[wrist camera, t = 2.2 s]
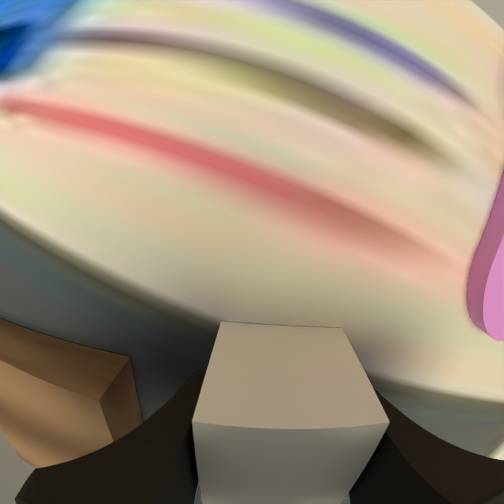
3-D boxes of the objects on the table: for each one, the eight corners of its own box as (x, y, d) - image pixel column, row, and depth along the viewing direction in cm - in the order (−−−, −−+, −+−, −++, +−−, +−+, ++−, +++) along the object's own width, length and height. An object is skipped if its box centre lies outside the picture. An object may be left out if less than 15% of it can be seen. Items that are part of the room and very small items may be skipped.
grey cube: (320, 412, 11) (339, 504, 6) (219, 408, 11) (202, 503, 6) (341, 328, 10) (389, 422, 5) (221, 320, 10) (191, 421, 5)
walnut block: (159, 479, 13) (148, 514, 10) (37, 433, 13) (19, 457, 10) (130, 356, 11) (99, 400, 8) (-10, 314, 11) (-43, 334, 8)
